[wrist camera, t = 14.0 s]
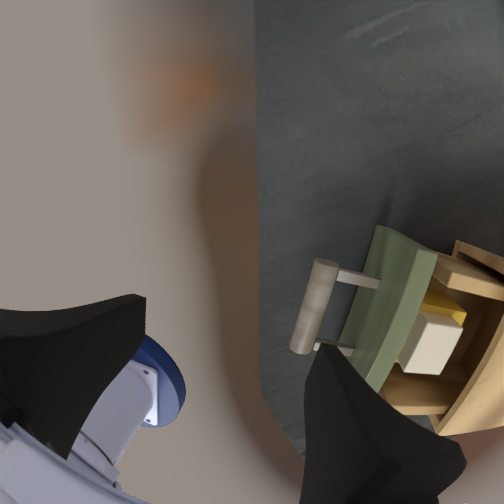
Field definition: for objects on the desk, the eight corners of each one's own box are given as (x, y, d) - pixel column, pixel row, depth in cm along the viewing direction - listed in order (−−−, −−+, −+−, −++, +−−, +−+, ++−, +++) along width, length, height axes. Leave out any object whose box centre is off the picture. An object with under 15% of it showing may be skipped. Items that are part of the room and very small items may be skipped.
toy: (374, 333, 18) (394, 377, 13) (394, 280, 17) (425, 314, 12) (423, 341, 17) (450, 381, 12) (444, 292, 16) (480, 324, 11)
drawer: (281, 346, 20) (275, 410, 13) (319, 209, 17) (335, 225, 11) (453, 370, 19) (483, 417, 12) (499, 264, 16) (550, 292, 9)
